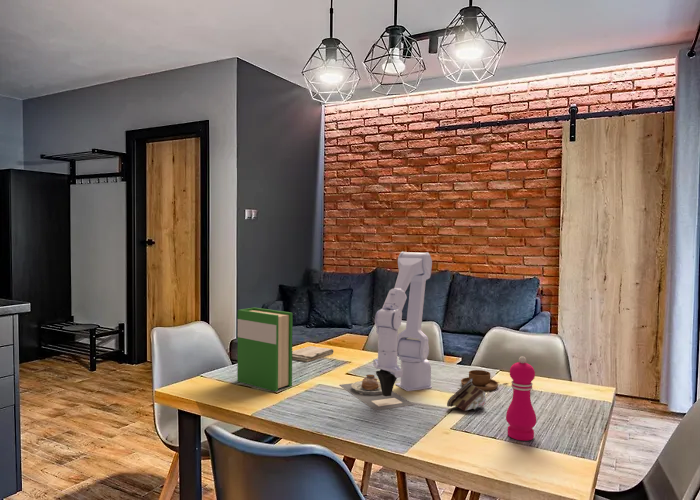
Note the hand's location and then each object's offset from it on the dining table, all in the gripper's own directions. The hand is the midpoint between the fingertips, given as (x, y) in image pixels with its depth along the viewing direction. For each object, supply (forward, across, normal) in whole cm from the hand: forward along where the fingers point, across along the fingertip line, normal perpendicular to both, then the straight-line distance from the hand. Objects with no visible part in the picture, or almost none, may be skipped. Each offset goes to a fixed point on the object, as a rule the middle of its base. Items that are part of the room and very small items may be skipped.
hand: (386, 395), depth 154 cm
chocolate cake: (+4, +14, +16) cm, 21 cm away
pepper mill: (+2, +35, +19) cm, 40 cm away
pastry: (+2, -13, +1) cm, 13 cm away
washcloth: (+3, -62, -2) cm, 62 cm away
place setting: (+3, 0, +38) cm, 39 cm away
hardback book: (+2, -31, -29) cm, 43 cm away
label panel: (+2, -8, 0) cm, 8 cm away
